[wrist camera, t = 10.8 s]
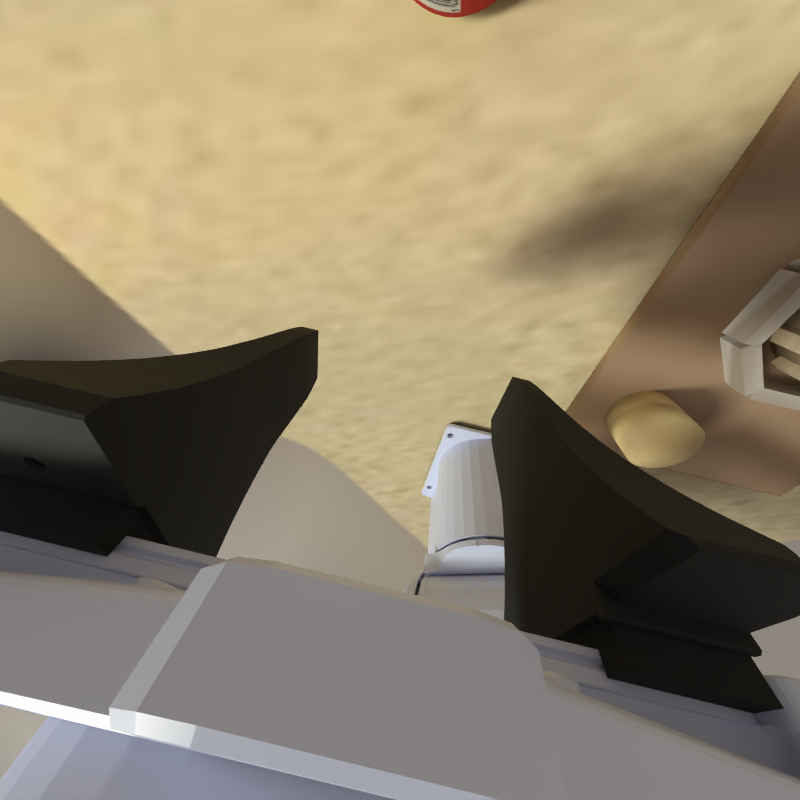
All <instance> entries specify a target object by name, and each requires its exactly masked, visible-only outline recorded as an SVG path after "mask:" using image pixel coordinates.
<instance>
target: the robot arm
mask: <svg viewBox="0 0 800 800" xmlns="http://www.w3.org/2000/svg"><path fill="white" fill-rule="evenodd" d="M317 370H318V330H314V329H309V328H305V327H297V328H292V329H288V330H285V331H281V332H278V333H275V334H271V335H268V336H264V337H261V338H258V339H254V340H250V341H246V342H242V343H239V344H235V345H231V346H227V347H222V348H218V349H213V350H207V351H201V352H195V353H189V354H182V355H173V356H163V357H154V358H143V359H128V360H103V361H27V360H9V361H4V362H0V705H2V706H7V707H11V708H15V709H19V710H23V711H27V712H31V713H35V714H39V715H43V716H47V717H48V718H47V719H46V721H45V722H44V723H43V724H42V726H41V727H40V728H39V730H38V731H37V732H36V734H35V735H34V736H33V738H32V739H31V740H30V741H29V743H28V744H27V745H26V747H25V748H24V749H23V751H22V752H21V753H20V755H19V756H18V757H17V758H16V760H15V761H14V762H13V764H12V765H11V766H10V768H9V769H8V770H7V771H6V773H5V774H4V776H3V777H2V778H1V779H0V800H800V680H799V679H795V678H790V677H785V676H778V675H762V673H761V672H760V670H759V669H758V667H757V666H756V664H755V663H754V661H753V660H752V658H751V656H753V657H757V656H761V653H762V650H761V649H760V647H759V646H758V644H757V643H756V641H755V640H754V638H753V637H752V635H751V634H750V633H751V632H754V631H756V630H760V629H763V628H765V627H768V626H771V625H774V624H777V623H780V622H783V621H786V620H789V619H791V618H795V617H797V616H799V615H800V558H799V557H798V556H797V555H796V554H795V553H794V552H793V551H791V550H790V549H789V548H787V547H786V546H785V545H783V544H781V543H779V542H777V541H775V540H773V539H771V538H768V537H766V536H764V535H762V534H760V533H758V532H756V531H754V530H752V529H750V528H748V527H746V526H743V525H741V524H739V523H737V522H735V521H733V520H731V519H729V518H727V517H725V516H723V515H721V514H719V513H717V512H715V511H713V510H711V509H709V508H707V507H705V506H703V505H702V504H700V503H698V502H696V501H694V500H692V499H690V498H689V497H687V496H685V495H683V494H681V493H679V492H678V491H676V490H674V489H672V488H671V487H669V486H667V485H665V484H664V483H662V482H660V481H659V480H657V479H656V478H654V477H652V476H651V475H649V474H647V473H646V472H644V471H643V470H641V469H639V468H638V467H636V466H635V465H633V464H632V463H630V462H629V461H627V460H626V459H624V458H623V457H621V456H620V455H619V454H617V453H616V452H614V451H613V450H612V449H610V448H609V447H607V446H606V445H605V444H603V443H602V442H601V441H599V440H598V439H597V438H595V437H594V436H593V435H592V434H590V433H589V432H588V431H587V430H586V429H584V428H583V427H582V426H581V425H580V424H578V423H577V422H576V421H575V420H574V419H573V418H571V417H570V416H569V415H568V414H567V413H566V412H565V411H564V410H563V409H561V408H560V407H559V406H558V405H557V404H556V403H555V402H554V401H553V400H552V399H550V398H549V397H548V396H547V395H546V394H545V393H544V392H543V391H542V390H540V389H539V388H538V387H537V386H536V385H534V384H533V383H532V382H530V381H528V380H524V379H519V378H515V377H512V379H511V381H510V383H509V385H508V387H507V389H506V391H505V393H504V395H503V397H502V399H501V401H500V403H499V405H498V407H497V409H496V411H495V413H494V415H493V417H492V419H491V433H489V432H485V431H480V430H476V429H472V428H468V427H464V426H460V425H455V424H449V425H447V427H446V429H445V432H444V434H443V437H442V439H441V442H440V445H439V447H438V450H437V452H436V455H435V458H434V460H433V463H432V465H431V468H430V471H429V473H428V476H427V478H426V481H425V484H424V486H423V489H422V494H423V495H424V496H427V497H431V513H430V528H429V544H428V554H426V555H425V566H424V571H418V572H416V573H415V574H414V575H413V576H412V577H411V579H410V581H409V583H408V585H407V586H406V588H405V590H404V592H401V591H397V590H392V589H388V588H385V587H381V586H376V585H372V584H368V583H364V582H360V581H356V580H351V579H347V578H343V577H339V576H335V575H331V574H327V573H323V572H318V571H314V570H310V569H306V568H302V567H298V566H293V565H290V564H285V563H281V562H276V561H269V560H260V559H252V558H244V557H236V558H233V559H229V560H225V559H221V558H217V557H216V556H217V554H218V551H219V549H220V547H221V545H222V543H223V540H224V538H225V536H226V534H227V532H228V529H229V527H230V525H231V523H232V521H233V519H234V517H235V515H236V513H237V511H238V509H239V507H240V505H241V503H242V501H243V499H244V497H245V495H246V493H247V491H248V489H249V488H250V486H251V484H252V482H253V480H254V478H255V476H256V474H257V472H258V471H259V469H260V467H261V465H262V464H263V462H264V460H265V458H266V456H267V455H268V453H269V451H270V450H271V448H272V446H273V445H274V444H275V442H276V440H277V439H278V438H279V436H280V435H281V434H282V432H283V431H284V429H285V428H286V427H287V425H288V424H289V423H290V421H291V420H292V419H293V417H294V416H295V414H296V413H297V412H298V410H299V409H300V407H301V406H302V405H303V403H304V402H305V400H306V399H307V397H308V395H309V394H310V392H311V390H312V388H313V386H314V384H315V382H316V380H317ZM449 433H451V434H452V435H449Z"/></svg>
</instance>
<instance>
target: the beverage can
mask: <svg viewBox="0 0 800 800" xmlns="http://www.w3.org/2000/svg"><path fill="white" fill-rule="evenodd" d="M414 1H415V2H416V3H418V4H419V5H420V6H421V7H423V8H425V9H426V10H428V11H430V12H432V13H434V14H437V15H441V16H444V17H462V16H467V15H470V14H474V13H476V12H479V11H481V10H483V9H484V8H486V7H488V6H489V5H491V4H493V3H494V2H495V1H496V0H414Z"/></svg>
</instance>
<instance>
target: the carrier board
mask: <svg viewBox="0 0 800 800" xmlns="http://www.w3.org/2000/svg"><path fill="white" fill-rule="evenodd" d="M799 308H800V73H799V74H798V76H797V77H796V79H795V80H794V81H793V83H792V84H791V86H790V87H789V89H788V90H787V92H786V93H785V94H784V96H783V97H782V99H781V100H780V102H779V103H778V105H777V106H776V108H775V109H774V110H773V112H772V113H771V115H770V116H769V118H768V119H767V121H766V122H765V123H764V125H763V126H762V128H761V129H760V131H759V132H758V134H757V135H756V136H755V138H754V139H753V141H752V142H751V144H750V145H749V147H748V148H747V150H746V151H745V152H744V154H743V155H742V157H741V158H740V160H739V161H738V163H737V164H736V165H735V167H734V168H733V170H732V171H731V173H730V174H729V176H728V177H727V179H726V180H725V181H724V183H723V184H722V186H721V187H720V189H719V190H718V192H717V193H716V194H715V196H714V197H713V199H712V200H711V202H710V203H709V205H708V206H707V207H706V209H705V210H704V212H703V213H702V215H701V216H700V218H699V219H698V221H697V222H696V223H695V225H694V226H693V228H692V229H691V231H690V232H689V234H688V235H687V236H686V238H685V239H684V241H683V242H682V244H681V245H680V247H679V248H678V250H677V251H676V252H675V254H674V255H673V257H672V258H671V260H670V261H669V263H668V264H667V265H666V267H665V268H664V270H663V271H662V273H661V274H660V276H659V277H658V278H657V280H656V281H655V283H654V284H653V286H652V287H651V289H650V290H649V292H648V293H647V294H646V296H645V297H644V299H643V300H642V302H641V303H640V305H639V306H638V307H637V309H636V310H635V312H634V313H633V315H632V316H631V318H630V319H629V320H628V322H627V323H626V325H625V326H624V328H623V329H622V331H621V332H620V334H619V335H618V336H617V338H616V339H615V341H614V342H613V344H612V345H611V347H610V348H609V349H608V351H607V352H606V354H605V355H604V357H603V358H602V360H601V361H600V363H599V364H598V365H597V367H596V368H595V370H594V371H593V373H592V374H591V376H590V377H589V378H588V380H587V381H586V383H585V384H584V386H583V387H582V389H581V390H580V391H579V393H578V394H577V396H576V397H575V399H574V400H573V402H572V403H571V405H570V406H569V407H568V409H567V410H566V413H567V414H568V415H569V416H570V417H571V418H573V419H574V420H575V421H576V422H577V423H578V424H580V425H581V426H582V427H583V428H584V429H586V430H587V431H588V432H589V433H590V434H592V435H593V436H594V437H595V438H597V439H598V440H599V441H601V442H602V443H603V444H605V445H606V446H607V447H609V448H610V449H612V450H613V451H614V452H616V453H617V454H619V455H620V456H621V457H623V458H624V459H626V460H629V461H630V462H631V463H632V464H634V465H637V466H640V467H644V468H664V469H668V470H672V471H676V472H681V473H685V474H689V475H693V476H697V477H701V478H706V479H710V480H714V481H718V482H722V483H727V484H731V485H735V486H739V487H743V488H747V489H752V490H756V491H760V492H764V493H768V494H773V495H777V496H782V495H784V494H785V493H787V492H789V491H790V490H792V489H793V488H795V487H797V486H798V485H800V380H798V379H796V378H794V377H792V376H790V375H788V374H786V373H785V372H783V371H781V370H779V369H778V368H777V367H776V366H775V365H774V364H772V363H771V361H773V360H775V359H776V358H777V357H775V355H774V354H773V353H772V351H771V347H770V339H771V335H772V334H773V333H774V332H775V331H776V330H777V329H778V328H779V327H780V326H781V325H782V324H783V323H784V322H785V321H786V320H788V319H789V318H790V317H791V316H792V315H793V314H794V313H795V312H796V311H797V310H798V309H799Z"/></svg>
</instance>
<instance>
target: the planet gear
mask: <svg viewBox="0 0 800 800" xmlns="http://www.w3.org/2000/svg"><path fill="white" fill-rule="evenodd" d="M770 347H771V351H772V353H773V354H774V355H775V357H777V358H776V359H775V360H773V361H771V363H772V364H774V365H775V366H776V367H777V368H778V369H779V370H781V371H783V372H785V373H786V374H788V375H790V376H792V377H794V378H796V379H798V380H800V308H799V309H798V310H797V311H796V312H795V313H794V314H793V315H792V316H791V317H790V318H789V319H788V320H786V321H785V322H784V323H783V324H782V325H781V326H780V327H779V328H778V329H777V330H776V331H775V332H774V333H773V334H772V335H771V339H770Z"/></svg>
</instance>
